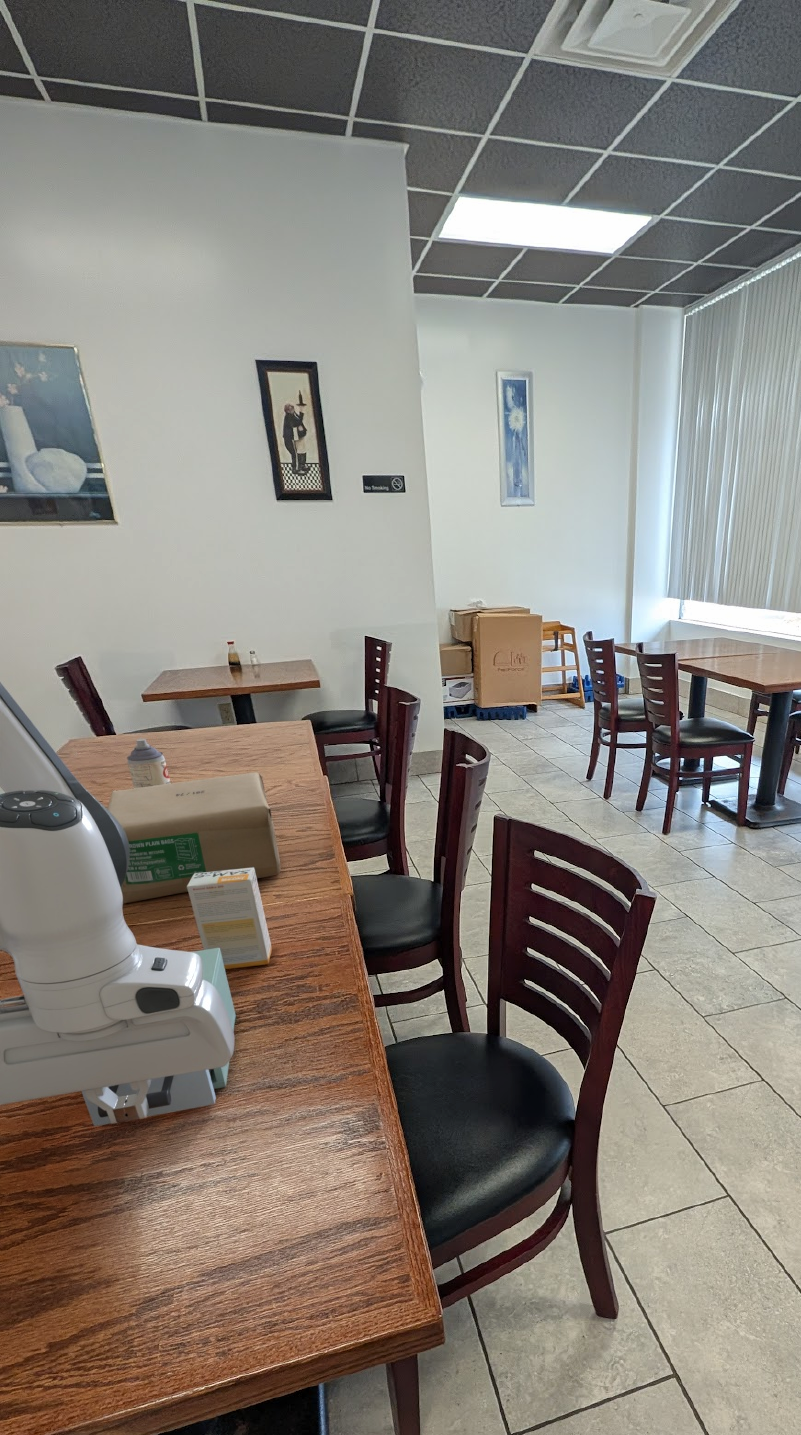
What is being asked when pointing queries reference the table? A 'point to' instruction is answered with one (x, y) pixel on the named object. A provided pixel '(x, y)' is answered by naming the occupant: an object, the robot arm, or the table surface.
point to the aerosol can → (147, 766)
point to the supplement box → (231, 916)
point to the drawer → (164, 1095)
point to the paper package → (194, 832)
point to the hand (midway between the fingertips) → (130, 1116)
